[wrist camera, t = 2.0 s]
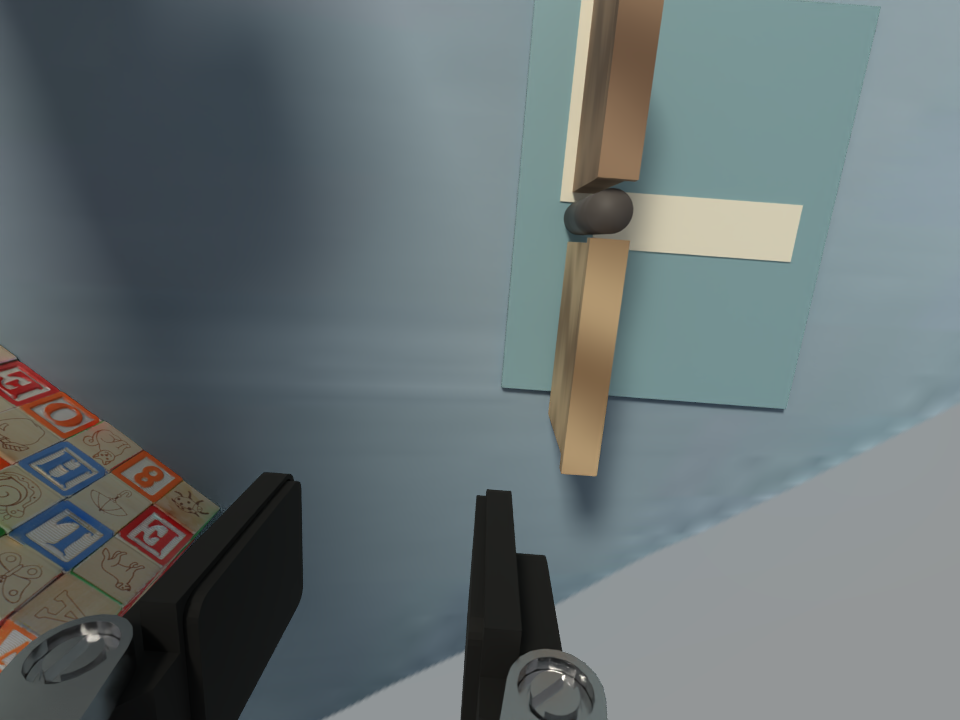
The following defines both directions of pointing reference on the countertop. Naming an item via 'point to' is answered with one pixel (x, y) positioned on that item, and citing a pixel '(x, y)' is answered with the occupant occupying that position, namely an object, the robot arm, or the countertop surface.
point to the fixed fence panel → (614, 112)
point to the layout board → (695, 194)
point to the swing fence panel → (586, 349)
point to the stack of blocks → (78, 512)
